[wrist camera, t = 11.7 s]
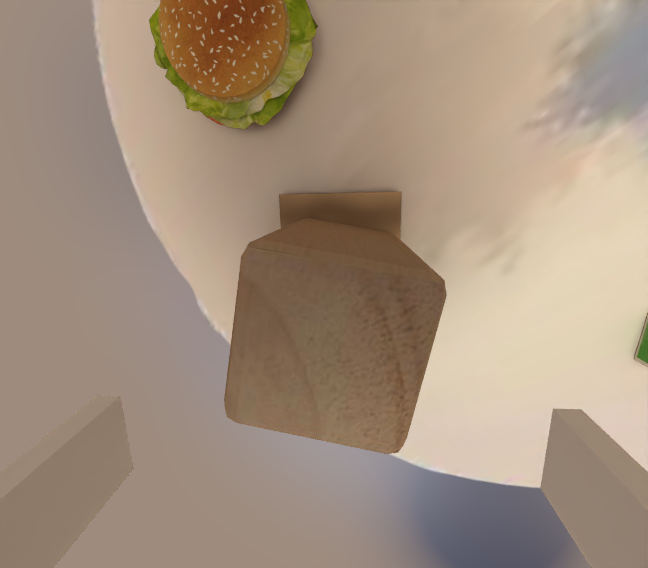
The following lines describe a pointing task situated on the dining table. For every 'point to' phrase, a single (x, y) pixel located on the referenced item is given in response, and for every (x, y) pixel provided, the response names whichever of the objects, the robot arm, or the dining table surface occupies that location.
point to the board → (345, 209)
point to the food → (234, 54)
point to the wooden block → (332, 334)
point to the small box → (643, 346)
